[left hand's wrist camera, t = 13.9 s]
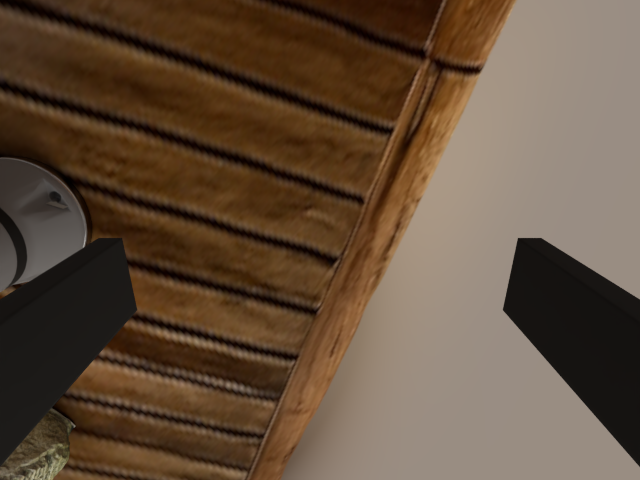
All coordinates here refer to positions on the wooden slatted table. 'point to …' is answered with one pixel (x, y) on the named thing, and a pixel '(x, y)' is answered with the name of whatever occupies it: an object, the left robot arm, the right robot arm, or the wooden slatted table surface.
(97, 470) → the wooden slatted table surface
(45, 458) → the fossil
